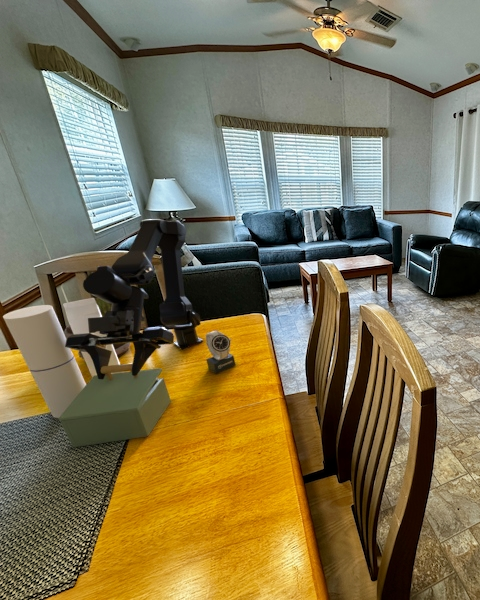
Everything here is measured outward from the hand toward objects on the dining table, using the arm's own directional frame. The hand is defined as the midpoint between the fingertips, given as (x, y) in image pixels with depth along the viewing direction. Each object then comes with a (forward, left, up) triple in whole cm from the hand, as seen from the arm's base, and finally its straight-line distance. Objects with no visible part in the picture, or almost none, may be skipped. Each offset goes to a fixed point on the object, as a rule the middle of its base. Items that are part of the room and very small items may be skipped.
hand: (117, 377), depth 71 cm
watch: (-3, +22, -11) cm, 25 cm away
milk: (-25, +1, -11) cm, 28 cm away
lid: (+2, -1, -3) cm, 3 cm away
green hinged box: (+2, -2, -10) cm, 11 cm away
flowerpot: (-38, +4, -11) cm, 40 cm away
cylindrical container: (-14, -8, -11) cm, 19 cm away
